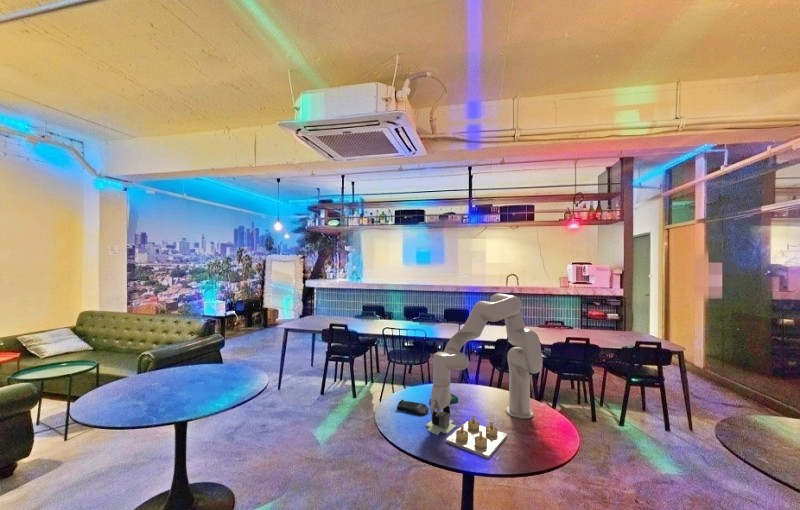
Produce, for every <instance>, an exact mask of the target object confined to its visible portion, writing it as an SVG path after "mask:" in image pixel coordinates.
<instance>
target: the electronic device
mask: <svg viewBox="0 0 800 510" xmlns="http://www.w3.org/2000/svg"><path fill="white" fill-rule="evenodd" d="M396 409H397V411H402V412H405V411H406V413H411V414H413V415H417V414H418V415H417V416H419V415H421V416H423V414H424V415H427V414H429V412H430V407H429V406H427V405H426V404H425V403H420V402H415V401H409V400H404V399H401V400H400V401H399V402H398V403H397V405H396ZM426 409H427V410H428V412H427V410H426Z"/></svg>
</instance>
